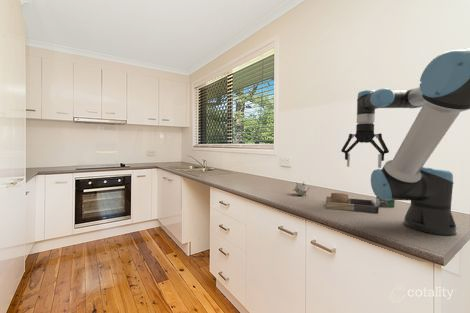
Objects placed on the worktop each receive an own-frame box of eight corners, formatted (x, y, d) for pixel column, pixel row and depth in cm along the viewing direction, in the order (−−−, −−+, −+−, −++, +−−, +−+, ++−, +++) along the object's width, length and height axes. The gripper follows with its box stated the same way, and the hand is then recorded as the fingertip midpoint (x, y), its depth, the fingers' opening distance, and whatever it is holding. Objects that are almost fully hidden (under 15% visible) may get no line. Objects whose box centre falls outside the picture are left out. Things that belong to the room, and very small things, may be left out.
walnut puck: (348, 209, 109) (349, 197, 109) (331, 207, 112) (331, 195, 112) (346, 204, 117) (347, 193, 116) (330, 203, 119) (330, 192, 119)
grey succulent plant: (303, 202, 135) (310, 191, 129) (290, 196, 136) (296, 185, 130) (305, 192, 142) (312, 181, 136) (292, 187, 143) (298, 176, 137)
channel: (378, 213, 102) (378, 207, 102) (326, 208, 110) (327, 202, 110) (372, 206, 115) (372, 200, 114) (326, 201, 122) (326, 196, 122)
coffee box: (378, 207, 112) (380, 181, 112) (375, 205, 115) (376, 180, 114) (394, 207, 112) (396, 181, 112) (390, 205, 115) (392, 180, 114)
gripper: (392, 123, 107) (390, 167, 108) (336, 124, 116) (335, 165, 117) (398, 122, 100) (396, 169, 101) (337, 123, 109) (336, 166, 110)
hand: (363, 167), depth 109 cm, fingers open, 13 cm apart
